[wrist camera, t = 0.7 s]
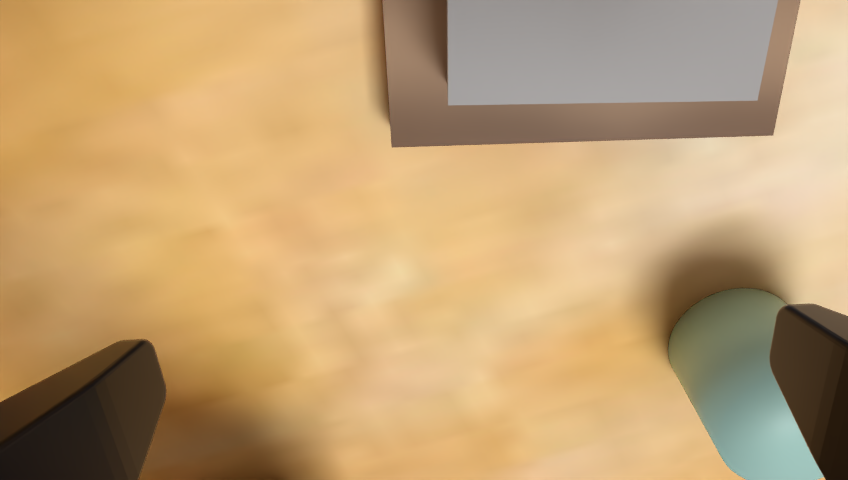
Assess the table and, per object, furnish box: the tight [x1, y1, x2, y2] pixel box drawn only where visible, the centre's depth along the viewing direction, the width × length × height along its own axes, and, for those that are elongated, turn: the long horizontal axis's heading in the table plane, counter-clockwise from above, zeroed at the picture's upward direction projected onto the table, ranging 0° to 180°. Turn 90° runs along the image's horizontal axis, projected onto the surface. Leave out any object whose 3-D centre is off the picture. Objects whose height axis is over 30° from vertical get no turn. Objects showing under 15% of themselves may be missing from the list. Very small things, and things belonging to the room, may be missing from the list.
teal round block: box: [668, 288, 824, 480], centre depth 23 cm, size 5×5×5 cm
